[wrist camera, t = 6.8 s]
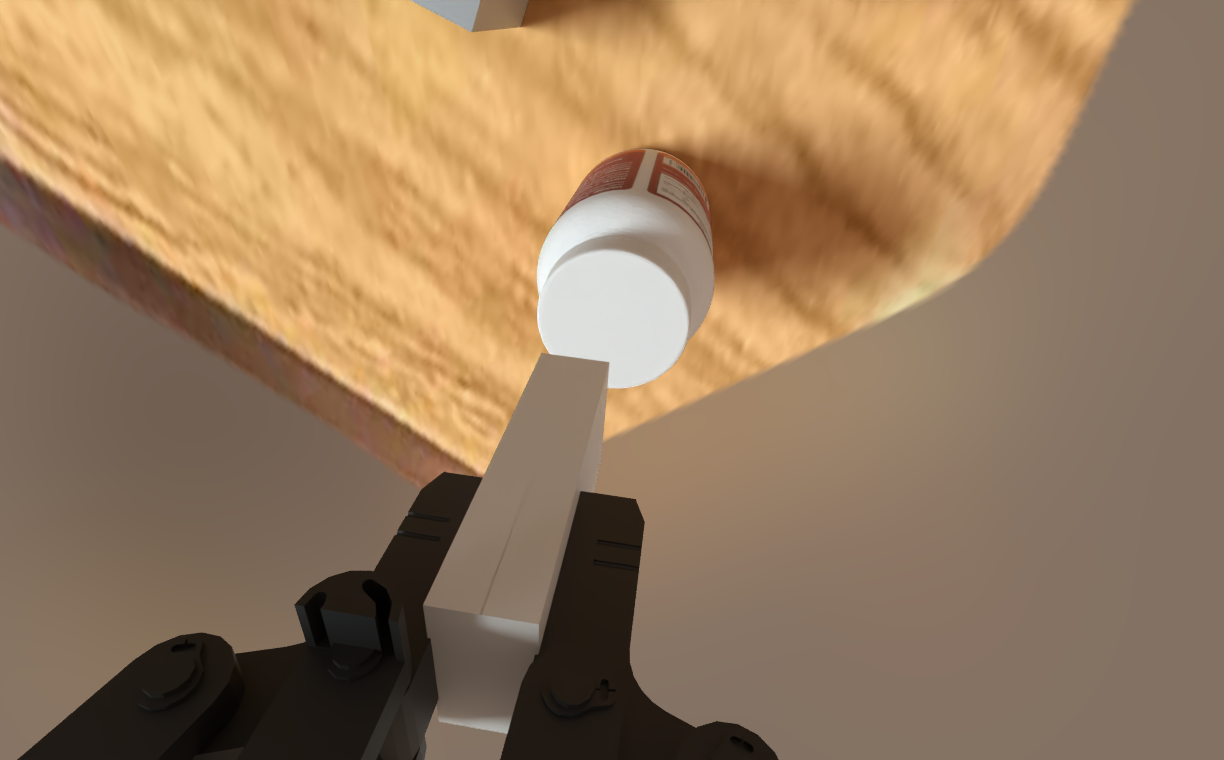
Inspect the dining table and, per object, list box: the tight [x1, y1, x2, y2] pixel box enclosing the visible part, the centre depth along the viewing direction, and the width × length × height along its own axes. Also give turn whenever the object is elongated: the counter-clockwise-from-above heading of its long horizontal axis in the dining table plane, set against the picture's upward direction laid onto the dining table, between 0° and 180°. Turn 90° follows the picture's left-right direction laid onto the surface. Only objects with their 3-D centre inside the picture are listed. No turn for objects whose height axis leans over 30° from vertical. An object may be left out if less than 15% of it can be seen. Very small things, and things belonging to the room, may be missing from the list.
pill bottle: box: [537, 149, 714, 388], centre depth 23 cm, size 6×6×11 cm
